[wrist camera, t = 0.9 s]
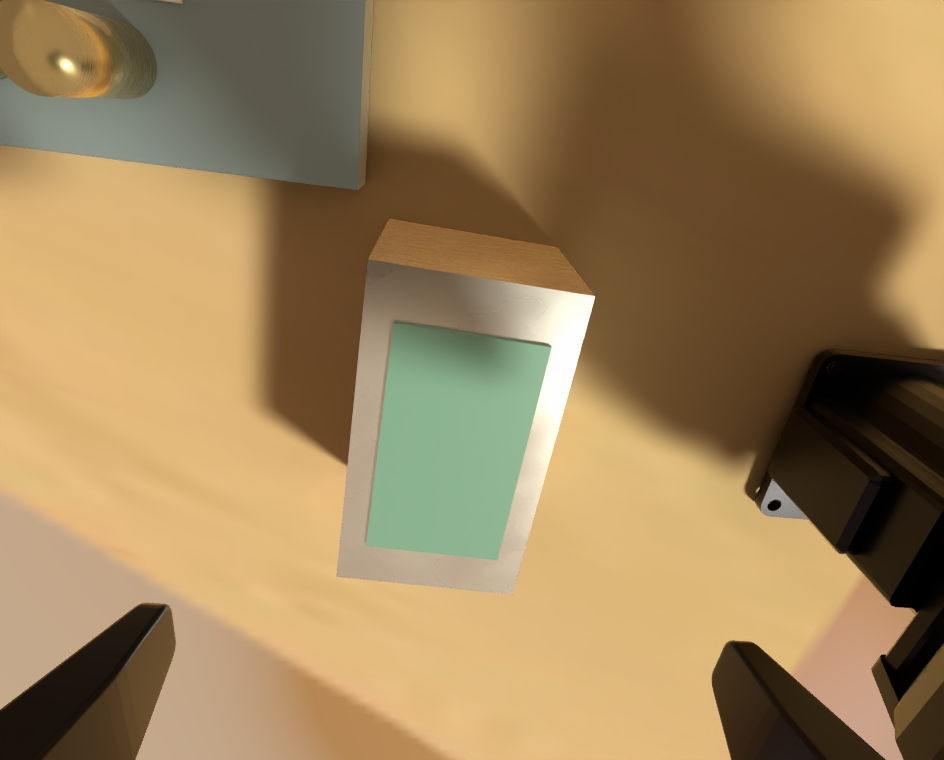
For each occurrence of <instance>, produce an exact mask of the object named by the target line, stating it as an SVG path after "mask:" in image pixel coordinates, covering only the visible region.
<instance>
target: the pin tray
mask: <svg viewBox="0 0 944 760" xmlns="http://www.w3.org/2000/svg"><path fill="white" fill-rule="evenodd" d="M373 5H374V0H0V145H5V146H13V147H21V148H29V149H37V150H45V151H52V152H60V153H68V154H76V155H84V156H92V157H100V158H108V159H115V160H123V161H131V162H139V163H147V164H155V165H163V166H171V167H178V168H186V169H194V170H202V171H210V172H218V173H226V174H234V175H241V176H249V177H257V178H265V179H273V180H281V181H289V182H297V183H304V184H312V185H320V186H328V187H336V188H344V189H352V190H359V189H360V188H361V187H362V186H363V185H364V184H365V181H366V159H367V137H368V115H369V93H370V71H371V49H372V27H373Z"/></svg>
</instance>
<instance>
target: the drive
mask: <svg viewBox="0 0 944 760" xmlns="http://www.w3.org/2000/svg"><path fill="white" fill-rule="evenodd" d="M594 300H595V295H594V294H593V292H592V291H591V290H590V289H589V287H588V286H587V285H586V283H585V282H584V281H583V280H582V278H581V277H580V276H579V274H578V273H577V272H576V271H575V269H574V268H573V267H572V265H571V264H570V263H569V262H568V260H567V259H566V258H565V256H564V255H563V254H562V253H561V251H560V250H559V249H558V247H553V246H547V245H541V244H535V243H529V242H524V241H518V240H512V239H506V238H500V237H494V236H489V235H483V234H477V233H471V232H465V231H459V230H454V229H448V228H442V227H436V226H430V225H424V224H419V223H413V222H407V221H401V220H395V219H389V220H388V222H387V224H386V226H385V228H384V230H383V231H382V233H381V235H380V237H379V239H378V241H377V243H376V245H375V247H374V249H373V250H372V252H371V254H370V256H369V258H368V263H367V273H366V283H365V293H364V303H363V314H362V324H361V334H360V344H359V354H358V364H357V375H356V385H355V395H354V405H353V415H352V425H351V436H350V446H349V456H348V466H347V476H346V486H345V497H344V507H343V517H342V527H341V537H340V547H339V558H338V568H337V577H344V578H354V579H364V580H374V581H384V582H394V583H404V584H413V585H423V586H433V587H443V588H453V589H463V590H472V591H482V592H492V593H502V594H513V590H514V587H515V583H516V580H517V576H518V573H519V569H520V565H521V562H522V558H523V555H524V551H525V547H526V544H527V540H528V537H529V533H530V529H531V526H532V522H533V519H534V515H535V512H536V508H537V504H538V501H539V497H540V494H541V490H542V486H543V483H544V479H545V476H546V472H547V469H548V465H549V461H550V458H551V454H552V451H553V447H554V443H555V440H556V436H557V433H558V429H559V425H560V422H561V418H562V415H563V411H564V408H565V404H566V400H567V397H568V393H569V390H570V386H571V382H572V379H573V375H574V372H575V368H576V365H577V361H578V357H579V354H580V350H581V347H582V343H583V339H584V336H585V332H586V329H587V325H588V322H589V318H590V314H591V311H592V307H593V304H594Z"/></svg>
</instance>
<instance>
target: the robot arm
mask: <svg viewBox="0 0 944 760" xmlns="http://www.w3.org/2000/svg"><path fill="white" fill-rule="evenodd" d="M834 361H835V364H834V366H833V367H832V368H830V369H829V370H827V367H828V366H829V364H830V363H832V362H834ZM773 500H774V502H772V503H770V504H769V502H771V501H773ZM755 503H756V505H757V507H758V508H759V509H760V511H761V512H762V513H763V514H764V515H767V516H772V517H784V518H797V519H808V520H809V521H810V522H811V523H812V524H813V525H814V527H815V528H816V529H817V530H818V531H819V532H820V533H821V535H822V536H823V537H824V538H825V539H826V540H827V541H828V543H829V544H830V545H831V546H832V547H833V548H834V549H835V551H837V552H838V553H839V554H846V555H847V556H848V558H849V559H850V560H851V561H852V562H853V563H854V564H855V565H856V567H857V568H858V569H859V570H860V571H861V572H862V573H863V574H864V575H865V577H866V578H867V579H868V580H869V581H870V582H871V583H872V584H873V586H874V587H875V588H876V589H877V590H878V591H879V592H880V593H881V595H882V596H883V597H884V598H885V599H886V600H887V601H888V602H889V603H890V605H892V606H895V607H904V608H909V609H910V610H911V611H912V612H913V613H914V614H915V616H914V617H913V619H912V620H911V621H910V623H909V624H908V626H907V627H906V628H905V630H904V631H903V633H902V634H901V636H900V637H899V638H898V640H897V641H896V642H895V644H894V645H893V646H892V648H891V649H890V651H889V652H888V653H887V655H881V656H880V658H879V659H878V660H877V662H876V663H875V664H874V666H873V667H872V673H873V676H874V678H875V681H876V683H877V686H878V688H879V691H880V693H881V695H882V698H883V701H884V703H885V706H886V708H887V711H888V713H889V716H890V718H891V721H892V723H893V726H894V728H895V739H896V743H897V745H898V747H899V750H900V752H901V754H902V756H903V759H904V760H944V361H936V360H927V359H918V358H909V357H899V356H890V355H881V354H872V353H863V352H854V351H845V350H836V349H830V350H825V351H823V352H821V353H820V354H819V355H817V356H816V358H815V359H814V361H813V363H812V365H811V368H810V370H809V372H808V375H807V377H806V380H805V382H804V384H803V387H802V389H801V391H800V394H799V396H798V399H797V401H796V403H795V406H794V408H793V411H792V412H791V414H790V417H789V419H788V422H787V424H786V426H785V429H784V431H783V434H782V436H781V438H780V441H779V443H778V445H777V448H776V450H775V453H774V455H773V457H772V460H771V462H770V465H769V467H768V470H767V472H766V475H765V477H764V480H763V482H762V484H761V487H760V489H759V492H758V494H757V496H756V500H755ZM175 644H176V640H175V632H174V625H173V618H172V611H171V608H170V607H169V605H167V604H159V603H142V604H139V605H137V606H136V607H134V608H133V609H132V610H130V611H129V612H128V613H127V614H125V615H124V616H123V617H121V618H120V619H119V620H117V621H116V622H115V623H113V624H112V625H111V626H110V627H108V628H107V629H106V630H104V631H103V632H102V633H100V634H99V635H98V636H96V637H95V638H94V639H92V640H91V641H90V642H88V643H87V644H86V645H85V646H83V647H82V648H81V649H79V650H78V651H77V652H75V653H74V654H73V655H71V656H70V657H69V658H68V659H66V660H65V661H64V662H62V663H61V664H60V665H58V666H57V667H56V668H54V669H53V670H52V671H50V672H49V673H48V674H46V675H45V676H44V677H43V678H41V679H40V680H39V681H37V682H36V683H35V684H33V685H32V686H31V687H29V689H27V690H26V691H24V692H23V693H22V694H20V695H19V696H18V697H16V698H15V699H14V700H12V701H11V702H10V703H8V704H7V705H6V706H4V707H3V708H2V709H1V710H0V760H135V759H136V756H137V754H138V751H139V749H140V746H141V743H142V741H143V738H144V735H145V733H146V730H147V727H148V724H149V722H150V719H151V716H152V713H153V711H154V708H155V705H156V702H157V700H158V697H159V694H160V691H161V689H162V686H163V683H164V681H165V678H166V675H167V672H168V669H169V667H170V664H171V661H172V658H173V655H174V651H175ZM712 687H713V692H714V696H715V699H716V703H717V707H718V711H719V715H720V719H721V722H722V726H723V730H724V734H725V738H726V741H727V745H728V749H729V753H730V757H731V760H885V759H884V758H883V757H882V756H881V755H880V754H879V753H877V752H876V751H875V750H874V749H873V748H872V747H871V746H870V745H868V744H867V743H866V742H865V741H864V740H863V739H862V738H861V737H859V736H858V735H857V734H856V733H855V732H854V731H853V730H852V729H850V728H849V727H848V726H847V725H846V724H845V723H844V722H843V721H842V720H841V719H839V718H838V717H837V716H836V715H835V714H834V713H833V712H831V711H830V710H829V709H828V708H827V707H826V706H825V705H824V704H823V703H821V702H820V701H819V700H818V699H817V698H816V697H815V696H813V694H811V693H810V692H809V691H808V690H807V689H806V688H805V687H803V686H802V685H801V684H800V683H799V682H798V681H797V680H796V679H795V678H793V677H792V676H791V675H790V674H789V673H788V672H787V671H786V670H785V669H783V668H782V667H781V666H780V665H779V664H778V663H777V662H776V661H774V660H773V659H772V658H771V657H770V656H769V655H768V654H767V653H765V652H764V651H763V650H762V649H761V648H760V647H759V646H757V645H756V644H754V643H752V642H748V641H733V640H732V641H729V642H727V643H726V644H725V646H724V648H723V650H722V653H721V655H720V657H719V659H718V661H717V664H716V666H715V668H714V670H713V674H712Z"/></svg>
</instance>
